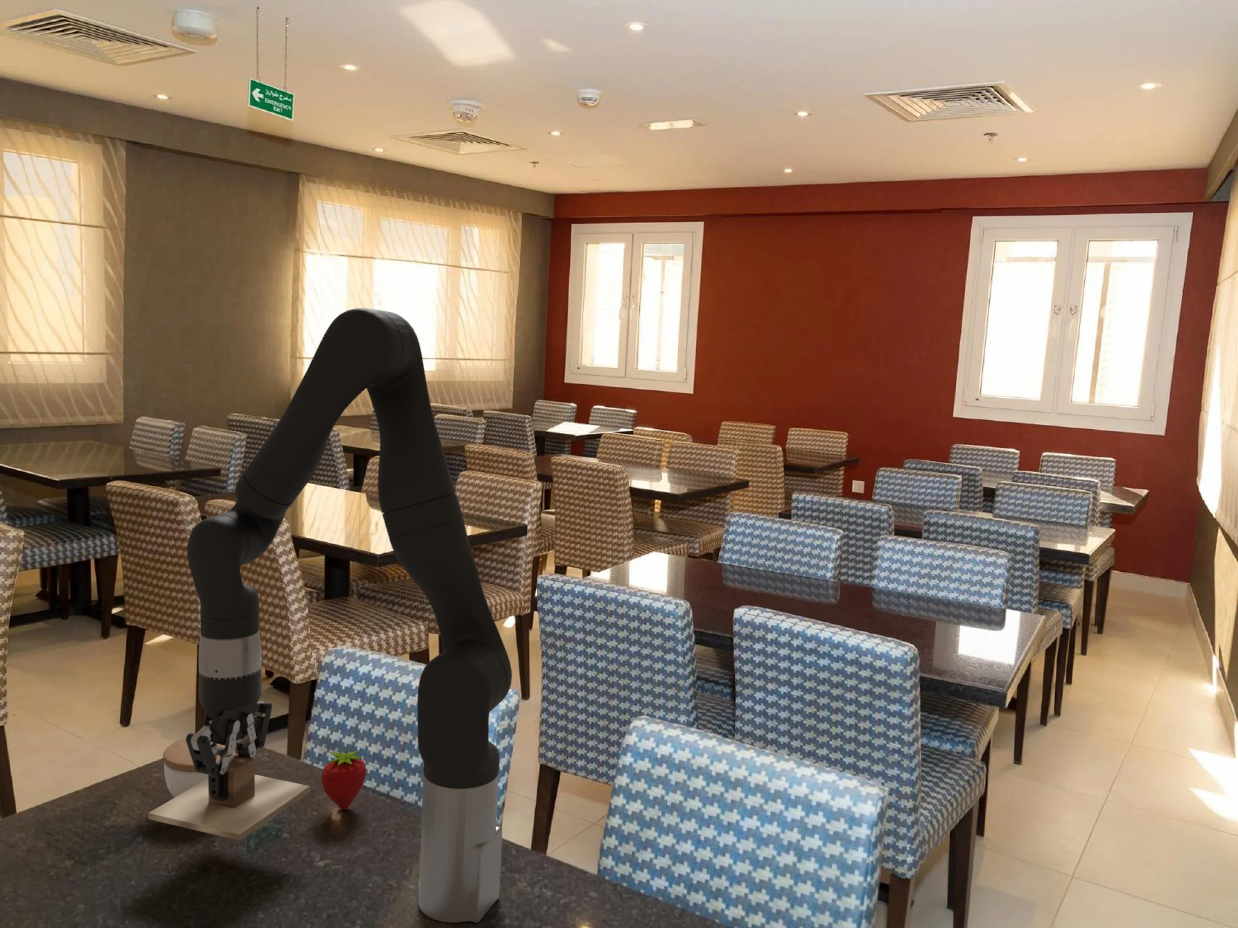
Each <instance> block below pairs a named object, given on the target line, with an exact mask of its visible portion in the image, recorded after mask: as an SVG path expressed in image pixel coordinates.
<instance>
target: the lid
mask: <svg viewBox="0 0 1238 928" xmlns="http://www.w3.org/2000/svg"><path fill="white" fill-rule="evenodd" d="M216 763H218V764H219V763H220V760H219V761H217V762H216ZM255 768H256V767H255V759H254V758H253V759H250V758H245V757H240V756H235V755H231V756H230V757H229V763H228V769H227V773H228V798H227V799H226V800H224V801H218V800H214V799H212V798H211V797H210V795H209V775H208V779H206V780H204V781H203V782H201V783H199V784H197V785H196V786H194V787H192V788H190V789H189V790H187V791H185V792H184V793H182V794H180V795H178V796H177V797H173V798H171V799H170V800H168V801H166V802H164V803H162V805H160V806H157V807H156V808H154V809H152V810H150V811H149V812H148V813H147V814H148V815H147V816H148V820H151V821H155V822H159V823H163V824H168V825H172V826H177V827H180V828H185V829H189V830H193V831H197V832H201V833H205V834H211V835H215V836H219V837H223V838H226V839H232V840H237V841H239V842H240V841H242V840H243V839H244V838H246V837H247V836H249V835H250V834H252V833H253V832H254V831H256V830H258V829H259V828H261V826H263V825H264V824H266V823H267V822H268V821H271V820H272V819H273V818H274V817H276V816H277V815H279V814H280V813H281V812H283V811H285V810H286V809H287V808H289V807H291V806H292V805H293V804H295V803H296V802H297V801H299V800H300V799H302V798H303V797H305V796H306V795H307V794H309V793H310V792H311V786H310V785H305V784H301V783H297V782H293V781H288V780H287V781H286V780H284V779H283V780H282V779H278V778H273V777H268V776H262V775H257V774H255V773H256V772H255V771H256V770H255Z"/></svg>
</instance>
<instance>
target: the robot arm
mask: <svg viewBox="0 0 1238 928" xmlns="http://www.w3.org/2000/svg"><path fill="white" fill-rule="evenodd" d="M427 383H428V382H427V378H426V373H425V364H424V359H423V353H422V349H421V344H420V341H419V337H418V335H417V333H416V332H415V329H414V327H412V325H411V324H410V322H409V321H408V320H406V319H405V318H404V317H403V316H401V315H400V314H398V313H395V312H391V311H387V310H381V309H375V308H374V309H372V308H367V307H366V308H363V307H360V308H359V307H358V308H352V309H348V310H346V311H344V312H342V313H340V314H339V315H338V316H336V317H335V318H334V319H333V320H332V322H331V323H330V324H329V326H328V327H327V329H326V331H325V332H324V335H323V336H322V338H321V340H320V342H319V344H318V347H317V349H315V352H314V355H313V357H312V359H311V361H310V363H309V365H308V368H307V369H306V371H305V373H304V376H303V377H302V379H301V381H300V383H299V384H298V386H297V389H296V391H295V392H294V395H293V397H292V399H290V402H289V403H288V405H287V406H286V409H285V411H284V412H283V414H282V416H281V417H280V419H279V421H278V423H277V424H276V425H275V427H274V428H273V430H272V432H271V433H270V434H269V435H268V437H267V439H266V440H265V441H264V443H263V444H262V445H261V447H260V449H258V451H257V453H256V454H255V456H253V458H252V459H251V461H250V462H249V463H248V465H247V466H246V468H245V469H244V470H243V472H242V473H241V475H240V477H239V478H238V480H237V482H236V484H235V487H234V494H235V497H236V502H235V504H234V505H233V506H232V507H231V508H230V509H229V510H228V511H227V512H224V513H221V514H217V515H214V516H211V517H207V518H204V519H202V520H200V521H199V522H198V523H196V525H195V526H194V527H193V528H192V530H191V532H190V534H189V538H188V541H187V548H186V555H187V556H186V557H187V562H188V565H189V566H188V567H189V571H190V573H191V578H192V580H193V584H194V588H195V592H196V594H197V597H198V600H199V603H200V609H199V614H200V616H199V618H200V619H199V621H200V623H199V625H200V626H199V627H200V640H199V645H198V694H199V695H198V696H199V697H198V698H199V699H198V700H199V704H201V706H202V707H203V709H204V712H205V713H204V719H203V720H202V727H201V728H200V729H199V730H198V731H197V732H196V733H192V732H191V733H188V734H187V735H186V737H185V738H186V742H187V745H188V749H189V752H190V755H191V758H192V761H193V764H194V767H195V770H196V772H198V773H203V774H207V775H209V795H210V797H211V798H212V799H214V800H218V801H224V800H226V799H227V798H228V773H227V769H228V763H229V757H230V756H231V755H233V753H234V749H235V753H236V755H238V756H240V757H245V758H250V759H254V757H255V756H256V754H257V750H258V749H263V748H264V746H265V743H266V740H267V739H266V738H267V734H268V730H269V725H270V719H271V714H272V710H273V704H272V703H271V702H267V701H261V700H260V699H261V698H262V695H263V694H262V691H263V690H262V688H263V687H262V686H263V685H262V683H263V681H262V679H263V677H262V673H263V672H262V671H263V670H262V643H261V641H262V640H261V634H260V600H259V598H260V597H259V595H258V592H257V590H256V589H255V587H253V586H252V585H250V584H246V583H244V582H243V579H242V572H241V567H242V566H244V565H247V564H249V563H252V562H253V561H255V560H257V559H258V558H260V556H262V554H263V553H265V552H266V550H268V548H269V547H270V545H271V544H272V543H273V541H274V539H275V537H276V536H277V534H278V532H279V529H280V527H281V525H282V523H283V521H284V518H285V515H286V512H287V511H288V509H289V508H290V507H291V505H292V504H293V503H294V502H295V500H296V499H297V498H298V496H299V495H300V494H301V493H302V491H303V490H304V489H305V487H306V486H307V484H308V483H309V481H311V479H312V477H313V475H314V474H315V472H316V471H317V470H318V467H319V465H320V463H321V461H322V459H323V456H324V453H325V450H326V447H327V443H328V440H329V438H330V436H331V433H332V431H333V429H334V427H335V426H336V423H337V422H338V420H339V419H340V417H341V416H342V414H343V413H344V412H345V410H346V409H347V408H348V407H349V406H350V405H351V403H352V402H354V400H355V399H357V398H358V396H359V395H360V394H362V392H363V393H364V392H365V390H367V393H368V396H369V398H370V401H371V404H372V408H373V412H374V415H375V417H376V422H377V426H378V433H379V458H378V459H379V460H378V471H377V494H378V496H377V497H378V501H379V505H380V506H379V507H380V513H381V514H382V518H383V523H384V525H385V529H386V532H387V533H386V534H387V537H388V538H389V539H388V540H389V543H390V545H391V548H392V550H393V553H394V555H395V557H396V558H397V560H398V562H399V563H400V564H401V566H402V568H403V569H404V570H405V572H406V573H407V574H408V575H409V577H410V578H411V579H412V581H413V582H414V583H415V584H416V586H417V587H418V589H419V590H420V591H421V592H422V594H423V595H424V596H425V598H426V600H427V601H428V603H429V605H430V608H431V610H432V611H433V614H434V617H435V619H436V623H437V627H438V631H439V634H440V635H439V636H440V640H441V644H442V650H443V651H442V652H441V653H439V654H438V655H436V656H435V657H433V658H432V659H430V661H428V663H426V665H425V666H424V667H423V670H422V672H421V674H420V677H419V681H418V689H417V703H416V704H417V705H416V707H417V710H416V711H417V715H416V716H417V745H418V747H417V748H418V752H419V755H420V758H421V760H422V763H423V768H422V769H423V771H422V772H423V773H422V797H421V799H422V800H421V822H420V823H421V824H420V825H421V826H420V846H419V847H420V850H419V851H420V852H419V880H418V907H419V909H420V911H421V912H422V913H423V914H424V915H425V916H427V917H428V918H430V919H432V920H435V921H439V922H442V923H443V922H444V923H464V922H473V923H479V922H480V921H481V920H482V918H484V917H485V916H486V914H487V913H488V911H489V910H490V909H491V907H492V906H493V905H494V904H495V903H496V901H497V900H498V899H499V898H500V887H501V886H500V885H501V865H502V864H501V863H502V846H503V845H502V844H503V843H502V842H503V828H502V827H501V826H498V825H497V817H498V816H497V815H498V796H499V795H498V794H499V778H500V777H499V773H500V759H501V757H500V752H499V749H498V748H497V746H496V745H495V744H494V743H492V742H491V741H489V740H490V739H489V735H490V734H489V733H490V732H489V730H490V727H489V726H490V724H489V723H490V722H489V721H490V719H489V718H490V712H492V711H493V709H495V708H496V707H497V706H498V705H500V704H501V703H502V701H504V699H505V698H506V697H507V695H508V693H509V691H510V689H511V686H512V682H513V681H512V680H513V679H512V678H513V673H512V672H513V670H512V666H511V661H510V658H509V655H508V652H507V650H506V647H505V644H504V641H503V639H502V637H501V634H500V632H499V629H498V627H497V624H496V622H495V619H494V617H493V615H492V614H493V613H492V610H490V607H489V604H488V601H487V599H486V598H487V597H486V596H485V593H484V590H483V586H482V582H481V578H480V575H479V572H478V568H477V564H476V561H475V560H476V559H475V557H474V554H473V553H474V552H473V551H472V547H471V544H470V540H469V536H468V533H467V529H466V526H465V525H466V523H465V520H464V516H463V512H462V509H461V505H460V502H459V498H458V495H457V494H458V493H457V491H456V488H455V484H454V482H453V478H452V476H451V473H450V469H449V465H448V463H447V458H446V454H445V451H444V448H443V445H442V440H441V438H440V435H439V431H438V429H437V425H436V422H435V418H434V414H433V410H432V405H431V400H430V394H429V389H428V384H427ZM256 729H258V733H257V734H256ZM216 744H220V745H225V748H223V747H218V746H217V745H216ZM217 755H219V756H220V763H219V764H218V763H216V758H217Z"/></svg>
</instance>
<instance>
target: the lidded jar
mask: <svg viewBox="0 0 1238 928" xmlns="http://www.w3.org/2000/svg"><path fill="white" fill-rule="evenodd" d="M216 745H217V746H218V747H223V748H225V745H220V744H216ZM162 755H163V756H162V760H163V769H164V770H163V771H164V774H163V775H164V780H165V782H166V787H167V789H168V791H169V793H170V794H171V796H172V797H173V798H175V797H177V796H178V795H180V794H182V793H184V792H185V791H187V790H189V789H190V788H192V787H194V786H196V785H197V784H199V783H201V782H203V781H204V780H206V779H208V775H207V774H203V773H198V772H196V770H195V767H194V764H193V761H192V758H191V755H190V752H189V749H188V745H187V742H186V737H185V738H183V739H180V740H179V739H178V740H177V741H175V742H173V743H172V744H170V745H169V746H167V747H166V748H165V750H164V751H163V754H162ZM233 755H235V756H238V755H236V753H235V749H234V753H233ZM219 760H220V756H219V755H217V758H216V762H217V761H219Z"/></svg>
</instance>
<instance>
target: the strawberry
mask: <svg viewBox="0 0 1238 928" xmlns="http://www.w3.org/2000/svg"><path fill="white" fill-rule="evenodd" d="M340 744H341V745H342V746H343V747H344V748H345V750H347V752H346V753H345V752H335V751H329V752H330V754H331V755H332V756H334V757H335V758H334V759H332V760H330V761H329V762H328V763H327V764H326V765H325V766H324V768H323V769H322V774H321V777H320V778H321V779H320V780H321V785H322V787H323V790H324V793H325V794H326V795H327V797H329V798H330V800H331V801H332V802H333V803H334V804H335V805H337V806H338V808H339V809H340V810H347V809H348V808H349V807H350V806H351V803H352V802H353V801H354V799H356V797H357V795H358V794H359V792H360V791H361V789H362V787H363V786H364V782H365V779H366V775H367V767H366V762H365V761H364V760H363V759H364V758H363V757H361V756H357V755H355V754H357V753H359V750H356V751H350V752H349V749H348V748H347V747H346V745H344V744H343V743H342V742H340Z"/></svg>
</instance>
